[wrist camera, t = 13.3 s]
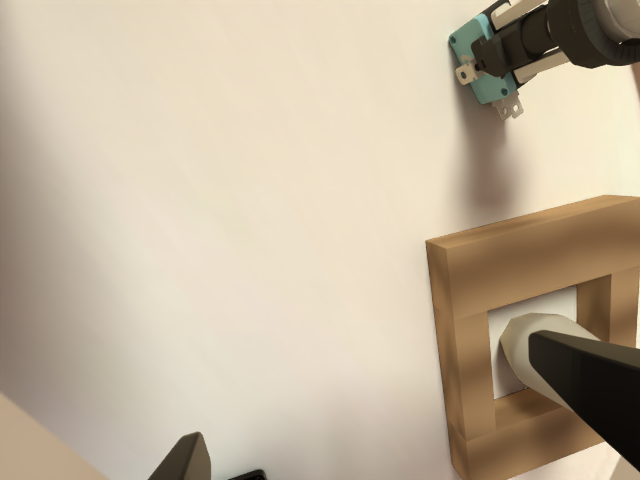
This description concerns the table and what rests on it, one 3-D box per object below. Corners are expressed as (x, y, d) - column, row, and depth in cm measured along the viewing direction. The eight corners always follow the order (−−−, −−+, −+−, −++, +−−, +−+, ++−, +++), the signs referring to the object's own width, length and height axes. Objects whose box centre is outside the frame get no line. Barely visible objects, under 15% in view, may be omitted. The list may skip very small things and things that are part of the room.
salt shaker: (559, 301, 25) (853, 426, 13) (547, 365, 26) (805, 536, 14) (495, 305, 24) (750, 447, 12) (485, 372, 25) (707, 565, 13)
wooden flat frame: (599, 409, 29) (631, 431, 26) (452, 464, 27) (471, 493, 24) (605, 194, 24) (643, 197, 22) (425, 240, 22) (446, 248, 19)
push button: (531, 96, 21) (757, 34, 12) (469, 143, 21) (646, 118, 11) (490, -1, 19) (719, -172, 10) (421, 49, 19) (585, -75, 10)
